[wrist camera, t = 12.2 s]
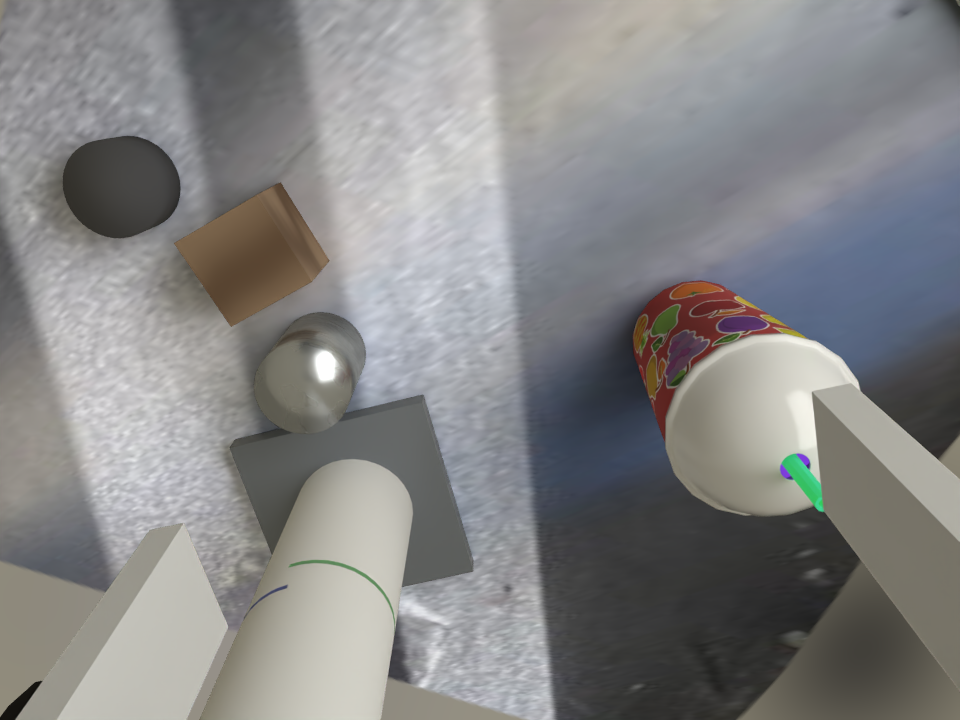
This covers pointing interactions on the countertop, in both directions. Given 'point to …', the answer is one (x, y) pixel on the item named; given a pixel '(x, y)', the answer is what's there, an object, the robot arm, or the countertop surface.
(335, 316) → the grey metal tin
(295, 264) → the walnut block
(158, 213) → the black rubber puck
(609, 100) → the countertop surface
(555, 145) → the countertop surface
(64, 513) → the countertop surface
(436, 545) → the plate
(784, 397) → the smoothie
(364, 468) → the cylindrical container
